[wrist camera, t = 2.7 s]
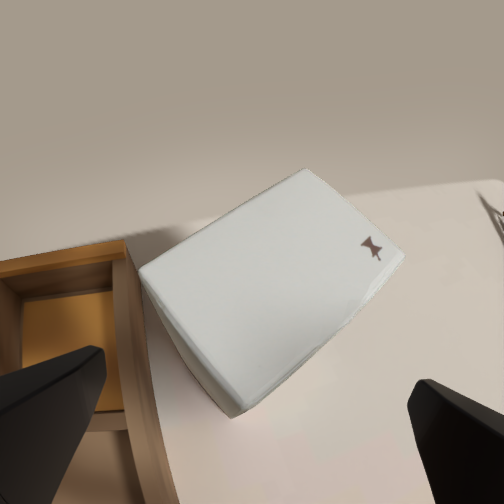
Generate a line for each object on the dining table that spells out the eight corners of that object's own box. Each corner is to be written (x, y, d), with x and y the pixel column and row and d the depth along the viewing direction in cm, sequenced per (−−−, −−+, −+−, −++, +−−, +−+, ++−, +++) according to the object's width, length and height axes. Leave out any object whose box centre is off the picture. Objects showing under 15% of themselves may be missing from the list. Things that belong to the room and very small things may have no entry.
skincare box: (260, 307, 19) (308, 161, 9) (306, 357, 18) (415, 254, 8) (182, 366, 17) (129, 265, 7) (229, 422, 15) (250, 419, 5)
